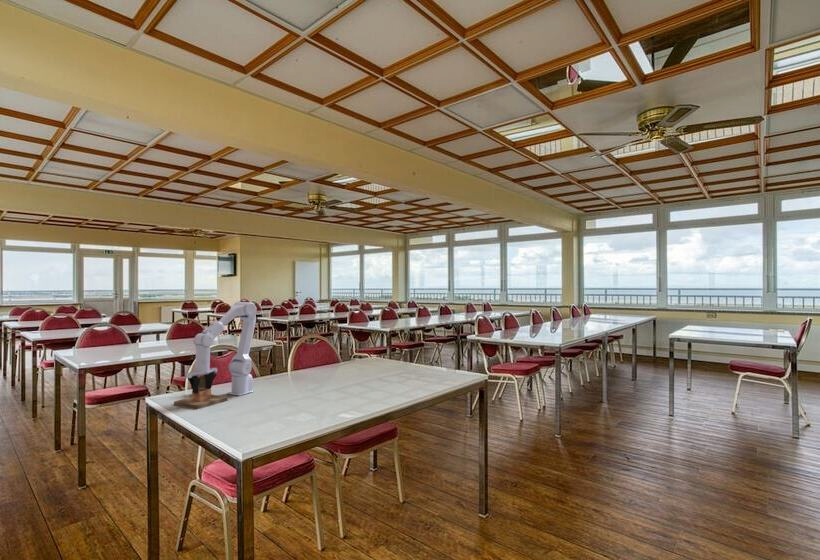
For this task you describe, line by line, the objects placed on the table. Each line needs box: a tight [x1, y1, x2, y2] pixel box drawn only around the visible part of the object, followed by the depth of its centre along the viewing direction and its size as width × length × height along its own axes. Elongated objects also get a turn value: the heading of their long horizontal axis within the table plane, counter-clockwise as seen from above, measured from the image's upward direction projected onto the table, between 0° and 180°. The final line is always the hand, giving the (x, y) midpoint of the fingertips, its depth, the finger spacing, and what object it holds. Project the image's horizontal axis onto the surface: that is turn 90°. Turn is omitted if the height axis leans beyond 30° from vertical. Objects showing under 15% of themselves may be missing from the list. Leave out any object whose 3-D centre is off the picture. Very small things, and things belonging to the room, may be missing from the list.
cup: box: [197, 375, 214, 389], centre depth 203 cm, size 8×7×8 cm
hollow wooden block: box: [191, 388, 212, 401], centre depth 187 cm, size 5×5×4 cm
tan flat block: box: [173, 389, 229, 410], centre depth 187 cm, size 16×14×6 cm
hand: (201, 391), depth 187 cm, fingers open, 6 cm apart
